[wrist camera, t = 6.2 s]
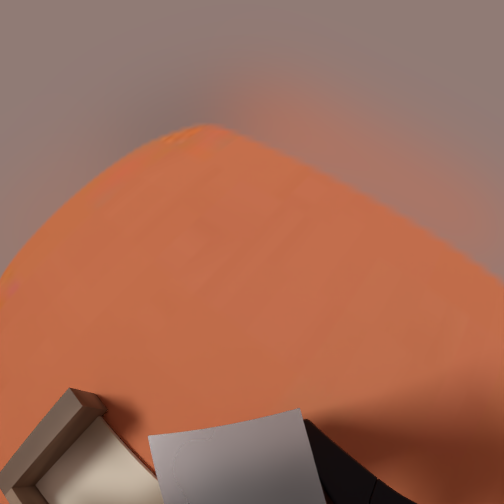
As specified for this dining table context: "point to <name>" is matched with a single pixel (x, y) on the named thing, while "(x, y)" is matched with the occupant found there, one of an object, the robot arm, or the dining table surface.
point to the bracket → (239, 463)
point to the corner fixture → (77, 460)
